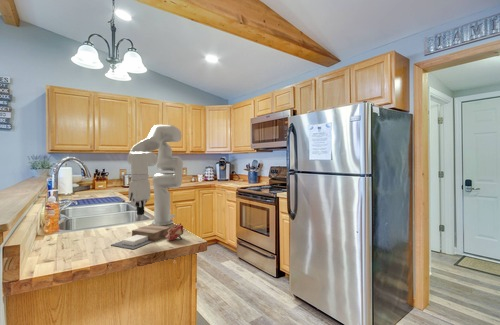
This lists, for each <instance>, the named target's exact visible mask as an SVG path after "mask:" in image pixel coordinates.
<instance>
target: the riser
mask: <svg viewBox="0 0 500 325" xmlns="http://www.w3.org/2000/svg"><path fill="white" fill-rule="evenodd" d="M170 228H172V226H168V225H162V226H159V225H152V224H148V225H145V226H142V227H139V228H138V227H137V228H135V229H132V230H131V237H132V236H134V235H144V236H148V240H150V241H153V242H156V241H158V240H159V241H160V240H161V239H163V238H166V237H165V236H166V235H168V234H169V233H168V232H167V231H168V230H169V229H170ZM153 242H152V243H153Z"/></svg>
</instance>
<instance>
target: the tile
mask: <svg viewBox="0 0 500 325" xmlns="http://www.w3.org/2000/svg"><path fill="white" fill-rule="evenodd" d="M147 240H148V236H144V235H134V236H132V235H131V236H129V237H126V238H123V239H122V240H121V241H122V244H125V245H131V246H135V245H137V244H140V243H142V242H145V241H147Z"/></svg>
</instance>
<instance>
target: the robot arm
mask: <svg viewBox="0 0 500 325" xmlns="http://www.w3.org/2000/svg"><path fill="white" fill-rule="evenodd" d="M181 140H182V131H181V130H180V129H179V128H178V127H177V126H175V125H172V124H156V125H155V124H154V125H153V127H151V129H150V131H149V133H148V135H147V137H146V138H145V139H142V140H140V141H139V142H137V143H135V144H134V145H133V146H132V147H131V149H130V151H128V152H129V153H128V155H127V163H128V164H129V165H130V170H131V171H130V176H131V177H130V178H131V180H129V186H128V194H127V195H128V201H129V202H130V205H133V206H134V207H136V214H137V215H139V216H142V215H145V207H146V204H147V202H149V201H150V198H151V185H150V180H149V169H148V168H149V167H154V166H155V165H156V169H157V170H158V171H159V172H157V173H155V174H154V175H153V176H152V187H153V196H154V197H153V198H154V199H153V202H154V208H153V211H154V220H153V221H152V222H151V225H159V226H168V225H171V224H173V223H174V220H173V218H175V217H176V215H175V214H171V194H170V191H169V190H168V189H178V188H180V187H181V186H182V184H183V183H182V180H183V170H184V163H183V159H182V158H181V157H180V156H172V155H173V149H172V147H171V146H170V145H169V144H168V143H178V142H180V141H181ZM156 150H157V153H155V152H153V151H156Z"/></svg>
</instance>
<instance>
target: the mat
mask: <svg viewBox="0 0 500 325" xmlns="http://www.w3.org/2000/svg"><path fill="white" fill-rule="evenodd" d="M152 243H153V241H150V240H147V241H145V242H142V243H140V244H137V245H135V246H131V245H125V244H122V240H121V241H118V242H115V243H112V244H110V246H111V247H115V248H116V247H117V248H121V249H126V250H133V251H134V250H136V249H138V248H141V247H144V246H146V245H149V244H152Z"/></svg>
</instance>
